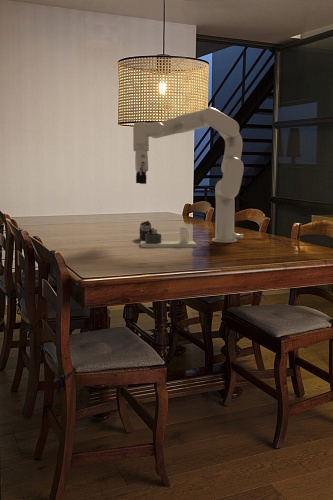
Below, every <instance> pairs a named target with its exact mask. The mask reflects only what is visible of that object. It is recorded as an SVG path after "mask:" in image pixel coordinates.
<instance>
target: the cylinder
mask: <svg viewBox="0 0 333 500" xmlns="http://www.w3.org/2000/svg"><path fill="white" fill-rule="evenodd" d="M179 241H180V243H189V241H190V227H186V226H185V227H184V226H183V227H180V228H179Z"/></svg>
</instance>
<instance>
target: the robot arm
mask: <svg viewBox="0 0 333 500" xmlns="http://www.w3.org/2000/svg"><path fill="white" fill-rule="evenodd" d="M208 127H211V128H212V129H214V130H216V131H217V132H218V134H219V135H220V136H221V137H222V138H223V140H224V145H225V146H224V154H223V157H222V158H223V159H222V162H221V167H220V169H221V170H220V171H221V172H222V177H221V178H222V179H220V180H218V181H217V183H216V184H215V189H214V190H215V191H214V195H215V196H214V197H215V223H214V225H215V226H214V227H215V228H214V229H215V231H214V234H215V235H214V236H215V237H213V238H212V239H211V241H212V242H214V243H225V244H227V243H228V244H230V243H236V242H237V241H238V238H239V239H242V238H243V239H244V234H243V233H236V232H235V213H236V212H235V209H236V207H235V205H236V204H235V198H236V197H237V195H239V192H240V189H241V185H242V181H243V175H244V170H245V169H244V167H245V166H244V162H243V161H242V160H241V159H242V154H243V153H242V152H243V148H244V147H243V138H242V135H241V133H240V125H239V123H238V122H237V121H236V120H235V119H233V118H232V117H230V116H228V115H226V114H225V113H223V112H221V111H220V110H218V109H216V108H215V107H207V108H205V109H201V110H197V111H193V112H188V113H184V114H183V113H182V114H180V115H178V116H176V117H173V118H170V119H166V120H162V121H152V122H143V121H141V122H134V123H133V126H132V128H133V130H132V131H133V132H132V133H133V134H132V135H133V136H132V137H133V139H132V140H133V142H132V143H133V144H132V145H133V146H132V147H133V152H135V155H134V156H135V157H134V159H135V161H134V162H135V163H134V164H135V165H134V166H135V171H136V173H135V174H136V175H135V183H136V184H140V185H146V184H147V172H148V171H149V156H148V152H149V151H150V147H149V145H150V143H149V141H150V140H149V139H150V138H149V137H151V138H152V139H159V138H164V137H168V136H171V135H177V134H183V133H189V132H192V131H195V130H200V129H203V128H204V129H205V128H208Z"/></svg>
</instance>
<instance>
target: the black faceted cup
mask: <svg viewBox="0 0 333 500" xmlns="http://www.w3.org/2000/svg"><path fill="white" fill-rule="evenodd" d="M161 241H162V233H158V232H157V233H150V234H145V243H148V244H159V243H161Z"/></svg>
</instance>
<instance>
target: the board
mask: <svg viewBox="0 0 333 500" xmlns="http://www.w3.org/2000/svg"><path fill="white" fill-rule="evenodd" d="M140 247H141V248H197V243H196V242H195V241H194V240H189V243H180V240H171V241H170V240H165V241H163V240H161V243H159V244H148V243H145V241H142V240H141V241H140Z"/></svg>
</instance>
